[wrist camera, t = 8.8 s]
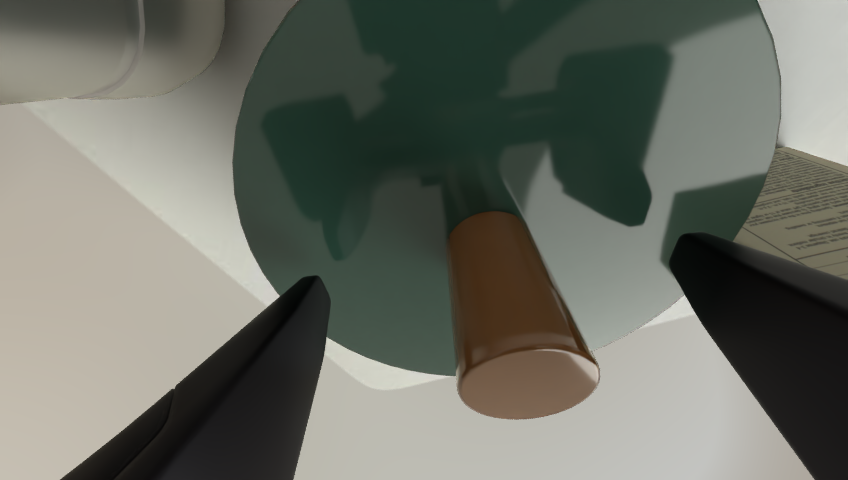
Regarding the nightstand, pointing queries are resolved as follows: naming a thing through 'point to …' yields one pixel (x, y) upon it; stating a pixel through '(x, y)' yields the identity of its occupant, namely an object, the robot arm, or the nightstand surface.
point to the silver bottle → (104, 47)
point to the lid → (501, 174)
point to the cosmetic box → (802, 212)
